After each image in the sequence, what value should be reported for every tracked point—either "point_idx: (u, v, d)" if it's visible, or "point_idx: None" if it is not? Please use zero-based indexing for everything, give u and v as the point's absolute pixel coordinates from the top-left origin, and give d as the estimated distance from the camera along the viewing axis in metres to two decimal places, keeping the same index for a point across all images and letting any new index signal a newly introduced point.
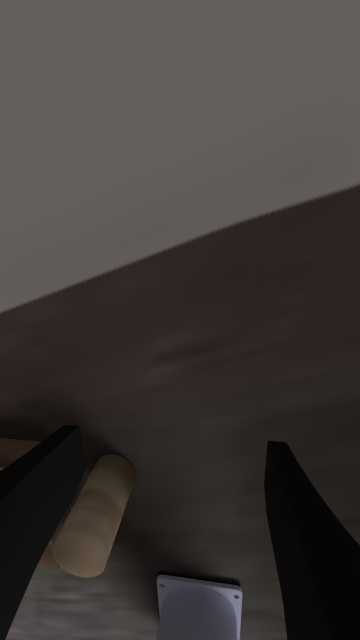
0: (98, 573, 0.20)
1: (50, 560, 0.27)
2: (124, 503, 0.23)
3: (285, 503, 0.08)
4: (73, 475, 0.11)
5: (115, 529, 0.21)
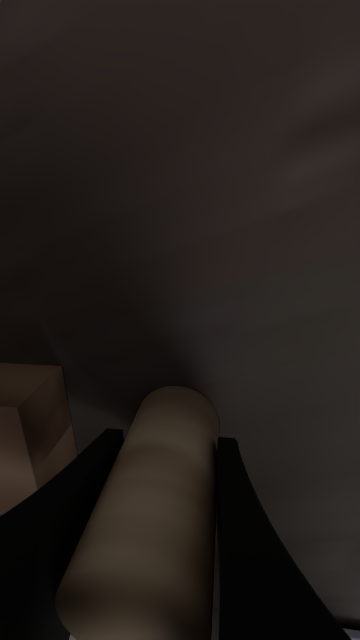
0: None
1: None
2: None
3: (219, 496, 0.08)
4: None
5: (214, 538, 0.08)
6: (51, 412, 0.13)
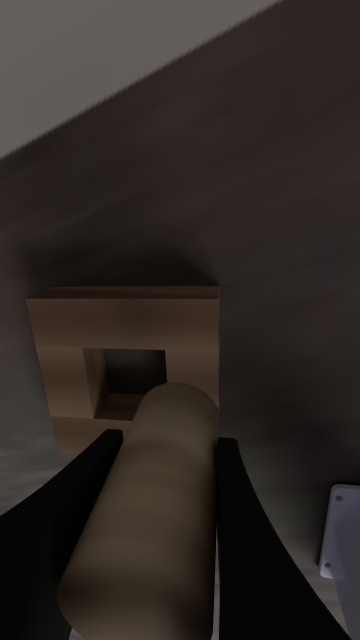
0: None
1: None
2: None
3: (219, 496, 0.08)
4: None
5: None
6: (219, 314, 0.18)
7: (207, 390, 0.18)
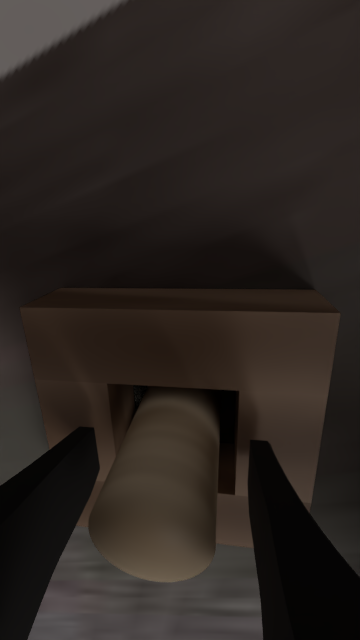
0: (193, 573, 0.09)
1: None
2: (219, 438, 0.12)
3: (262, 501, 0.08)
4: (88, 477, 0.11)
5: (217, 481, 0.10)
6: None
7: (301, 451, 0.12)
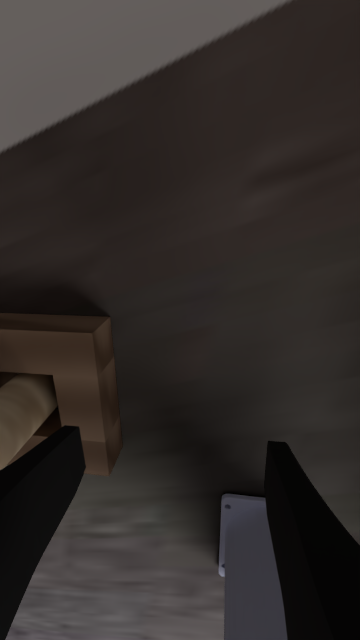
0: (4, 465, 0.17)
1: (100, 464, 0.22)
2: (48, 403, 0.21)
3: (285, 503, 0.08)
4: (73, 475, 0.11)
5: (30, 422, 0.19)
6: (105, 344, 0.20)
7: (92, 410, 0.20)
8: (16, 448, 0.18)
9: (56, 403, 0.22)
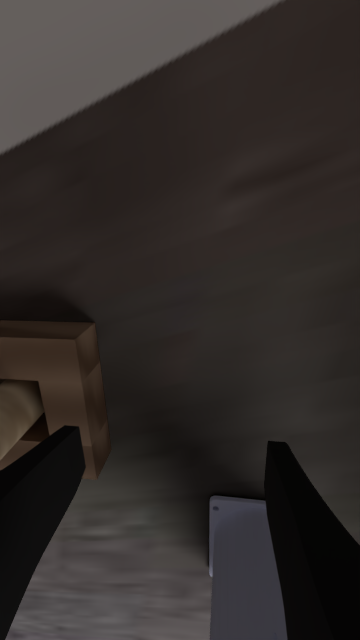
0: None
1: (87, 468, 0.22)
2: (34, 408, 0.21)
3: (285, 503, 0.08)
4: (73, 475, 0.11)
5: (15, 428, 0.19)
6: (89, 349, 0.21)
7: (77, 415, 0.21)
8: (0, 453, 0.18)
9: (43, 408, 0.22)
